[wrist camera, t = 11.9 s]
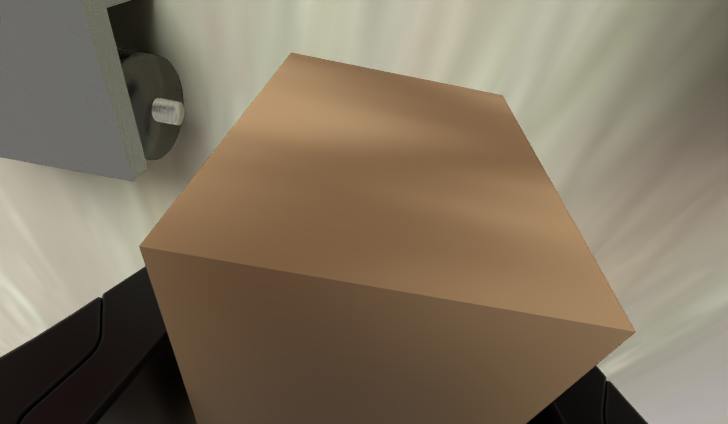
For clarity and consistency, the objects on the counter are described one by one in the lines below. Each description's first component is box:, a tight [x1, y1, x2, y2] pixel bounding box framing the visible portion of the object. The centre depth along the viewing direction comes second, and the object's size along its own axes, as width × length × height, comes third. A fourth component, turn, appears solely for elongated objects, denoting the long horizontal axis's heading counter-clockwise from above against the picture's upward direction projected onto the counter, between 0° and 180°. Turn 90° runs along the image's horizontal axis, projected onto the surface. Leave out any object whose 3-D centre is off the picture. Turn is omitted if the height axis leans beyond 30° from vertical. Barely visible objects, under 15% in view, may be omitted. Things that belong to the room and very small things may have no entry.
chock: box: [139, 53, 636, 424], centre depth 7 cm, size 4×6×5 cm, turn 170°
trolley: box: [0, 0, 185, 181], centre depth 14 cm, size 11×8×5 cm
